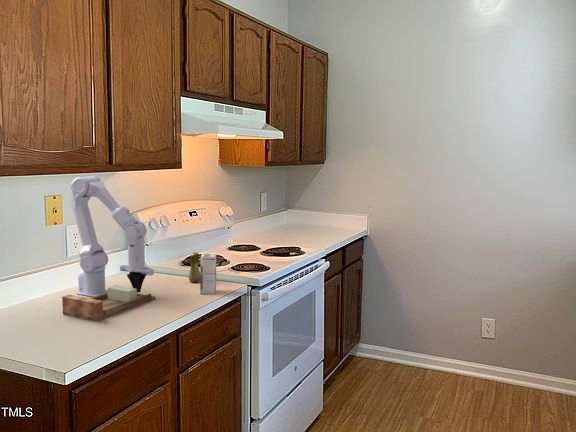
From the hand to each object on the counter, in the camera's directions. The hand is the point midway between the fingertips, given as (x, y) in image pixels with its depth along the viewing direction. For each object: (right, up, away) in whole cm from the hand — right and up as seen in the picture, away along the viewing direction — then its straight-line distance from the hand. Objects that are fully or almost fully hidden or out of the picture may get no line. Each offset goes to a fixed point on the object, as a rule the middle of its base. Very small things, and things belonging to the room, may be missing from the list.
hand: (137, 292), depth 198 cm
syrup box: (+25, -1, +8) cm, 26 cm away
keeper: (-4, -2, -7) cm, 8 cm away
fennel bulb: (+17, +1, +23) cm, 29 cm away
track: (-6, -3, -11) cm, 13 cm away
